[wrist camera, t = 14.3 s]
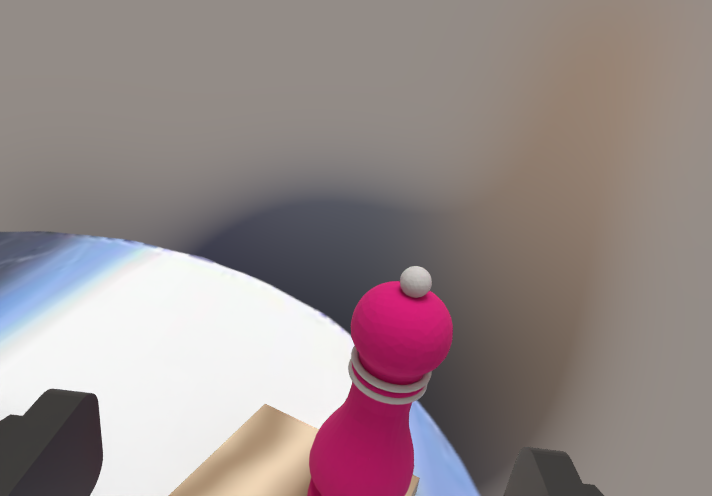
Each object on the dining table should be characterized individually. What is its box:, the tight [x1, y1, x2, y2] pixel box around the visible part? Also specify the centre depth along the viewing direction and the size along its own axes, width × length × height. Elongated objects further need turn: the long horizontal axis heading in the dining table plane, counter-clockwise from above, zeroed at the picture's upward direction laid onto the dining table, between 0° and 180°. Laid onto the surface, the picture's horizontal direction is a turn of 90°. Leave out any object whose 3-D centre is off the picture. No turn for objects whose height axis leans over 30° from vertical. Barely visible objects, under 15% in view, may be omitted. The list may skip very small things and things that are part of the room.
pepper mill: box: [307, 266, 453, 496], centre depth 32 cm, size 7×7×20 cm
